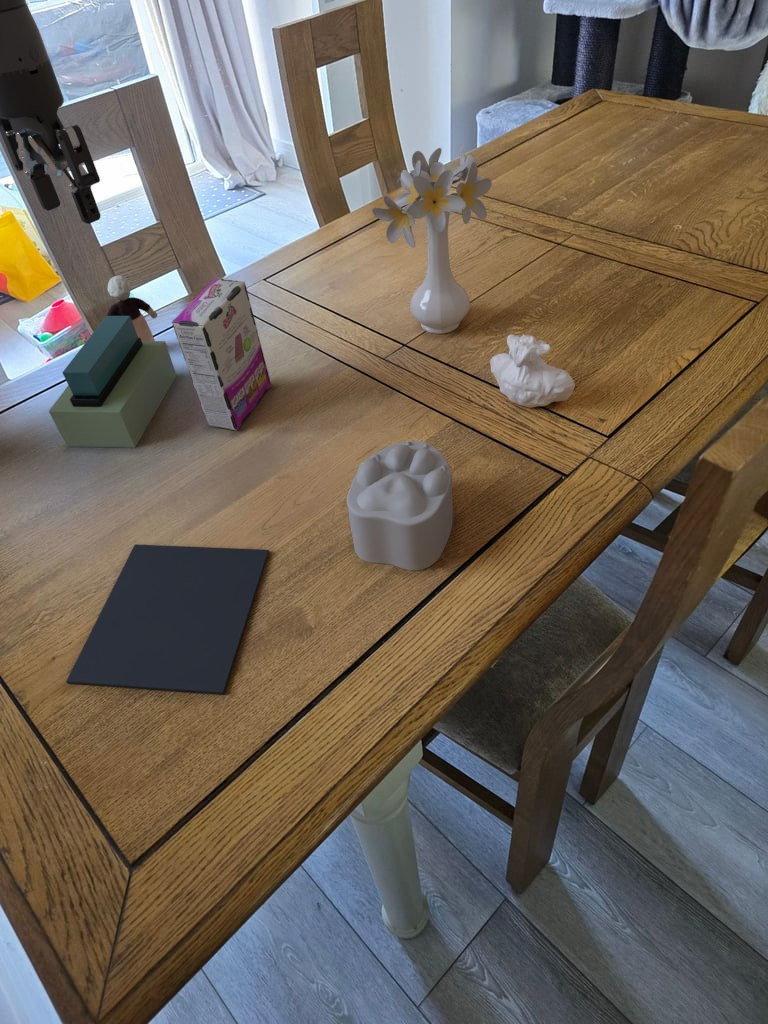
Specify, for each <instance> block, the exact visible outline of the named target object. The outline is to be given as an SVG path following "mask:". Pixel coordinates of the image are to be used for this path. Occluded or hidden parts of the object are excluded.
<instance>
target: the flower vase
mask: <svg viewBox="0 0 768 1024" xmlns="http://www.w3.org/2000/svg"><path fill="white" fill-rule="evenodd" d="M442 150H443V149H442V148H441V147H438V148H436V149H435V150H434V151H433V152H432V153H431V155H430V156H429V158H428V161H427V159H426V157H425V155H424V153H423V152H422V151H420V150H416V151H415V152H414V153H413V154H412V155H411V165H412V168H413V169H412V170H410V171H408V170H407V169H403V170H402V171H401V173H400V177H399V178H398V179H397V182H396V183H397V185H398V186H402V188H403V189H404V190H405V192H402V193H400V194H399V195H398V196H397V197H396V198H395V200H393V199H392V198H391V196H388V195H384V196H383V202H384V204H385V206H386V207H387V208H385V207H373V208H372V209H371V212H372V214H373V216H375V217H376V218H377V219H378V220H380V221H383V222H390V223H389V224H388V225H387V228H386V239H387V241H388V242H390V243H391V244H393V243H396V242H397V241H398V240H399V238H400V237H401V235H402V236H403V238H404V240H405V242H406V243H407V244H408V246H410V247H411V248H415V247H416V241H415V237H414V234H413V231H412V227H413V226H414V225H415V223H416V221H415V220H418V219H422V218H424V219H425V224H426V233H427V235H426V236H427V264H426V271H425V275H424V278H423V281H422V283H421V284H420V285H419V286H418V287H417V288H416V289H415V290H414V291H413V293H412V295H411V297H410V302H409V306H408V307H409V312H410V314H411V316H412V318H414V320H415V321H416V322H418V324H419V325H420V327H421V328H422V329H423V331H425V332H427V333H428V334H429V333H430V334H435V335H443V334H448V333H451V332H453V331H455V330H456V329H458V327H459V326H460V324H461V322H462V320H464V319H465V318H466V316H467V314H468V313H469V311H470V308H471V300H470V297H469V295H468V292H467V291H466V289H465V288H464V287H463V286H462V285H461V284H460V283H458V282H457V280H456V279H455V276H454V275H453V272H452V267H451V262H450V261H451V260H450V246H449V224H450V223H449V222H450V216H451V213H457V212H458V213H459V212H461V217H462V222H463V223H464V224H465V225H467V224H468V223H469V222H470V220H471V217H472V212H473V213H474V215H475V216H476V217H477V218H478V219H480V220H482V221H484V220H486V218H487V214H488V213H487V209H486V206H485V203H483V201H482V200H481V199H479V198H482V197H483V196H485V195H486V194H488V192H489V191H490V190H491V188H492V185H493V182H492V179H490V178H489V177H484V178H482V177H481V176H479V175H478V172H479V169H478V164H477V162H476V161H475V158H474V157H473V155H472V154H468V155H467V157H466V154H465V151H464V149H463V146H462V144H461V142H459V141H458V151H459V165H458V166H454V167H452V168H450V169H446V168H445V165H444V163H442V162H441V161H439V160H440V158H441V155H442ZM460 181H462V182H460ZM458 182H459V183H458ZM456 183H458V184H457V185H456V189H455V191H456V192H453V193H450V194H448V193H449V192H450V190H451V188H452V185H454V184H456ZM403 207H404V208H403Z"/></svg>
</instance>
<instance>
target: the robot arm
mask: <svg viewBox="0 0 768 1024" xmlns="http://www.w3.org/2000/svg"><path fill="white" fill-rule="evenodd" d="M64 102H65V98H64V94H63V93H62V89H61V87H60V84H59V81H58V79H57V76H56V73H55V71H54V68H53V65H52V62H51V59H50V56H49V54H48V51H47V47H46V46H45V43H44V40H43V37H42V34H41V32H40V29H39V27H38V25H37V22H36V20H35V18H34V16H33V14H32V12H31V10H30V8H29V5H28V4H27V0H0V136H1V137H2V140H3V142H4V145H5V147H6V150H7V152H8V155H9V157H10V160H11V163H12V165H13V167H14V169H15V170H16V171H17V172H21V171H22V172H23V175H24V176H25V178H26V179H28V180H30V183H31V185H32V187H33V189H34V192H35V194H36V196H37V199H38V201H39V204H40V206H41V208H42V210H45V211H52V210H54V209H56V208H59V207H60V206H61V199H60V198H59V195H58V193H57V190H56V187H55V186H54V183H53V180H52V178H51V176H50V174H48V167H49V169H50V170H51V171H52V173H53V174H54V175H55V176H58V177H60V178H61V179H62V180H63V181H64V183H65V184H66V186H67V187H68V188H69V190H70V195H71V197H72V198H73V199H72V200H73V202H74V204H75V207H76V209H77V212H78V215H79V217H80V220H81V221H82V223H84V224H87V225H90V224H93V223H94V222H97V221H99V220H100V219H101V212H100V210H99V207H98V204H97V202H96V199H95V196H94V194H93V190H92V186H94V185H96V184H99V183H100V182H101V179H100V175H99V173H98V169H97V168H96V165H95V162H94V160H93V157H92V155H91V151H90V150H89V147H88V144H87V142H86V139H85V136H84V134H83V131H82V128H81V127H80V126H79V125H78V124H74V125H71V126H68V127H65V126H64V124H63V123H62V121H61V119H60V117H59V116H58V111H59V108H62V106H63V105H64ZM83 164H84V166H83ZM69 172H70V173H71V174H70V173H69Z"/></svg>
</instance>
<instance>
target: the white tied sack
mask: <svg viewBox="0 0 768 1024" xmlns="http://www.w3.org/2000/svg"><path fill="white" fill-rule="evenodd" d="M506 340H507V341H506V344H507V347H508V349H509V350H508V353H507V352H506V353H505V352H502V353H497V354H495V355H493V356H492V357H491V359H490V361H489V362H490V363H489V364H490V372H491V373H492V375H493V376H494V378H495V380H496V382H497V384H498V386H499V391H500V393H502V394H503V395H505V397H507V399H508V400H509V401H510V402H511V403H514V404H516V405H518V406H521V407H525V408H537V407H546V406H549V405H550V404H552V403H554V402H564V401H567V400H568V399H569V398H570V397H571V396H572V394H573V393H574V390H575V386H576V385H575V384H576V383H575V381H574V379H573V378H572V376H571V375H570V374H569V373H568V372H567V371H566V370H565V369H562V368H558V367H555V366H552V365H549V364H548V363H547V362H545V360H543V359H542V357H543V356H546V355H547V354H548V353H549V352H550V350H551V345H550V344H547V342H546V341H544V340H543V339H539V340H538V341H537V340H536V337H534V335H531V334H529V335H526V334H522V335H520V336H518V335H515V334H512V333H511V334H509V335H508V336H507V338H506Z"/></svg>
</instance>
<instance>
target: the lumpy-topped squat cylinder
mask: <svg viewBox="0 0 768 1024" xmlns="http://www.w3.org/2000/svg"><path fill="white" fill-rule="evenodd" d="M450 467H451V466H450V465H449V463H448V461H447V459H446V457H445V455H444V454H443V453H442V452H441V451H440V450H439V449H438V448H436V446H434V445H432V444H430V443H429V442H426V441H422V440H407V441H401V442H397V443H394V444H390V445H388V446H385V447H384V448H382V449H380V450H378V451H377V452H375V453H374V454H372V455H370V456H369V457H368V458H366V459H365V460H363V461H362V462H361V463H360V464H359V467H358V469H357V472H356V474H355V476H354V478H353V479H352V481H351V484H350V487H349V490H348V493H347V495H346V496H347V497H346V507H347V513H348V519H349V525H350V530H351V531H350V532H351V536H352V544H353V549H354V552H355V554H356V556H357V557H358V558H359V559H361V561H364V562H366V563H371V564H383V565H390V566H394V567H396V568H399V569H403V570H407V571H413V572H416V571H417V572H418V571H423V570H425V569H427V568H429V567H431V566H432V565H435V563H437V562H438V560H439V559H440V557H441V555H442V554H443V552H444V550H445V548H446V545H447V544H448V541H449V539H450V535H451V532H452V528H453V525H454V524H453V523H454V518H453V517H454V507H453V506H454V505H453V474H452V471H451V468H450Z"/></svg>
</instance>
